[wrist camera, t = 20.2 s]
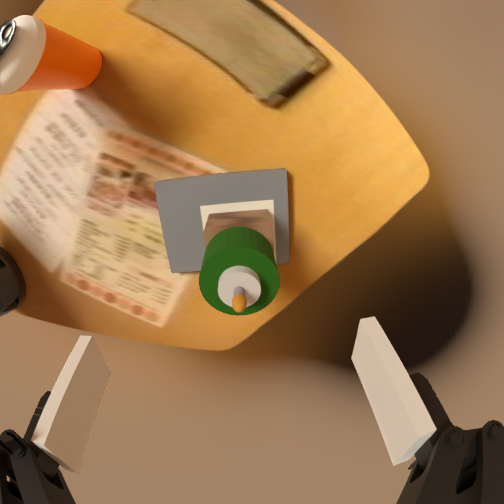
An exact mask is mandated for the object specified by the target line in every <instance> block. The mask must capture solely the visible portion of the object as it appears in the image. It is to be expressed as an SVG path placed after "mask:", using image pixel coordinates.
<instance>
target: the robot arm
mask: <svg viewBox="0 0 504 504" xmlns="http://www.w3.org/2000/svg"><path fill="white" fill-rule="evenodd" d="M25 296H26V287H25V282H24V279H23V276H22V274H21V271H20V269H19V267H18V266H17V264H16V262H15V261H14V260H13V258H12V257H11V256H10V255H9V254H8V253H7V252H6V251H5V250H4V249H3V248H1V247H0V317H1V316H3V315H5V314H7V313H9V312H11V311H13V310H15V309H17V308H18V307H19V306H20V305H21V304H22V303H23V301H24V299H25ZM352 361H353V363H354V365H355V368H356V370H357V373H358V375H359V377H360V380H361V382H362V385H363V387H364V390H365V392H366V395H367V397H368V400H369V402H370V404H371V407H372V409H373V412H374V415H375V417H376V420H377V423H378V425H379V428H380V430H381V433H382V436H383V439H384V441H385V444H386V447H387V449H388V452H389V455H390V457H391V461H392V463H393V465H396V464H399V463H402V462H404V461H407V460H409V459H410V458H411V457H412V456H413V455H414V454H415V457H416V460H415V461H414V462H413V463H412V464H411V465H410V467H409V468H408V469H409V470H410V469H411V468H412V467H413V468H412V470H411V473H410V475H409V477H408V480H407V482H406V485H405V487H404V489H403V491H402V493H401V495H400V497H399V499H398V501H397V503H396V504H504V426H503V425H502V424H501V423H500V422H499V421H495V420H492V421H489V422H487V423H486V424H485V425H484V426H483V427H482V428H479V429H472V430H463V429H461V428H459V427H457V426H456V427H455V426H454V425H453V424H452V423H451V422H450V420H449V418H448V416H447V414H446V412H445V410H444V408H443V406H442V405H441V403H440V401H439V399H438V398H437V397H436V394H435V392H434V390H432V387H431V385H430V383H429V382H428V380H427V379H426V378H425V377H424V376H423V375H422V374H420V373H419V372H418V373H414V374H411V375H408V373H407V371H406V370H405V368H404V366H403V364H402V362H401V361H400V359H399V357H398V355H397V354H396V352H395V350H394V348H393V347H392V345H391V343H390V342H389V340H388V338H387V336H386V335H385V333H384V331H383V330H382V328H381V326H380V325H379V323H378V321H377V320H376V318H375V317H370V318H364V319H360V324H359V328H358V333H357V338H356V342H355V346H354V350H353V355H352ZM110 374H111V371H110V369H109V367H108V366H107V364H106V362H105V360H104V358H103V356H102V355H101V353H100V351H99V349H98V347H97V345H96V343H95V341H94V339H93V337H92V336H84V335H81V336H80V337H79V339H78V341H77V343H76V344H75V346H74V348H73V350H72V352H71V354H70V356H69V358H68V359H67V361H66V364H65V365H64V367H63V369H62V371H61V373H60V375H59V377H58V379H57V381H56V383H55V386H54V388H53V390H52V392H50V391H47V392H46V393H45V394H44V395H43V396H42V397H41V399H40V401H39V403H38V406H37V408H36V410H35V412H34V415H33V417H32V419H31V421H30V424H29V426H28V428H27V431H26V433H25V436H24V438H23V439H22V438H21V437H20V436H19V435H18V434H17V433H16V432H15V431H13V430H10V429H9V430H5V431H4V432H2V434H1V435H0V504H76V503H75V501H74V499H73V497H72V495H71V493H70V491H69V489H68V487H67V485H66V482H65V480H64V478H63V476H62V473H61V471H60V470H59V469H58V467H59V465H61V466H62V467H64V468H65V469H66V470H69V471H72V472H75V473H78V474H79V472H80V468H81V464H82V461H83V457H84V453H85V449H86V446H87V442H88V439H89V436H90V433H91V429H92V426H93V423H94V420H95V417H96V414H97V411H98V408H99V405H100V402H101V399H102V396H103V393H104V390H105V387H106V385H107V382H108V379H109V376H110ZM6 475H7V476H8V477H9V478H10V480H9V482H8V481H7V477H6Z"/></svg>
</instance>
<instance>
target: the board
mask: <svg viewBox="0 0 504 504" xmlns="http://www.w3.org/2000/svg"><path fill="white" fill-rule="evenodd" d="M154 187H155V193H156V199H157V204H158V210H159V215H160V221H161V226H162V231H163V236H164V241H165V245H166V250H167V255H168V259H169V264H170V268H171V272H172V273H179V272H192V271H201V267H202V262H203V258H204V254H205V250H206V249H205V242H204V235H203V232H204V229H205V225H206V222H207V219H208V216H209V214H213V213H224V212H236V211H248V210H261V209H268V213H269V216H270V219H271V222H272V226H273V238H274V257H275V261H276V265H277V264H288V263H290V262H289V217H288V188H287V170H286V169H285V168H280V169H265V170H251V171H239V172H228V173H218V174H209V175H200V176H192V177H184V178H176V179H169V180H162V181H157V182H155V183H154Z"/></svg>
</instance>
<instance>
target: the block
mask: <svg viewBox="0 0 504 504" xmlns="http://www.w3.org/2000/svg"><path fill="white" fill-rule="evenodd" d="M231 227H247V228H251V229H254V230H256V231H258V232H259V233H261V234H262V235H263V236H264V237H265V238H266V239H267V240H268V241H269V243H270V245H271V247H272V249H273V253H274V238H273V226H272V222H271V219H270V216H269V213H268V209H261V210H248V211H236V212H224V213H213V214H209V216H208V219H207V222H206V225H205V229H204V232H203V235H204V242H205V249H206V247H207V245H208V243H209V242H210V240H211V239H212V238H213V237H214V236H215V235H216V234H218V233H219V232H220V231H223V230H225V229H227V228H231Z"/></svg>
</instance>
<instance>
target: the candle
mask: <svg viewBox="0 0 504 504" xmlns="http://www.w3.org/2000/svg"><path fill="white" fill-rule="evenodd" d="M199 286H200V290H201V293H202V295H203V297H204V298H205V300H206V301H207V302H208V303H209V304H210V305H211V306H212V307H214V308H215V309H217V310H219V311H221V312H223V313H226V314H230V315H248V314H253V313H255V312H258V311H260V310H262V309H263V308H265V307H266V306H267V305H269V304H270V303H271V302H272V300H273V299H274V298H275V296H276V294H277V292H278V288H279V274H278V270H277V266H276V261H275V257H274V253H273V249H272V247H271V245H270V243H269V241H268V240H267V239H266V238H265V237H264V236H263V235H262V234H261V233H259V232H258V231H256V230H254V229H251V228H247V227H231V228H227V229H225V230H223V231H220V232H219V233H218V234H216V235H215V236H214V237H213V238H212V239H211V240H210V242H209V243H208V245H207V247H206V250H205V254H204V258H203V262H202V267H201V271H200V276H199Z"/></svg>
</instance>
